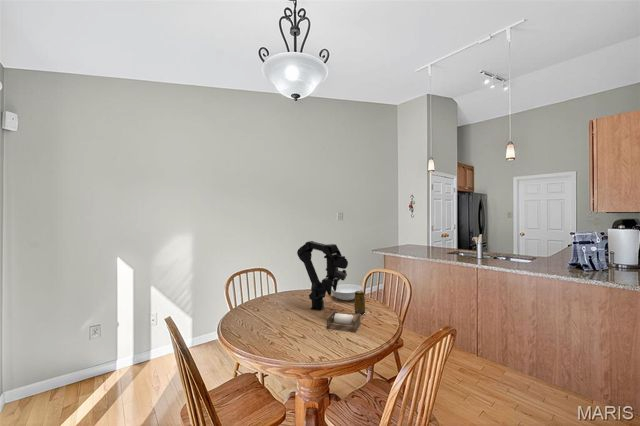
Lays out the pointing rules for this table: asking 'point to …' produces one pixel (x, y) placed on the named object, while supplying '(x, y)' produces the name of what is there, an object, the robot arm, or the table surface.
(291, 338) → the table surface
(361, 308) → the condiment
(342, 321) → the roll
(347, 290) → the serving bowl
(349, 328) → the cradle
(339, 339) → the table surface
